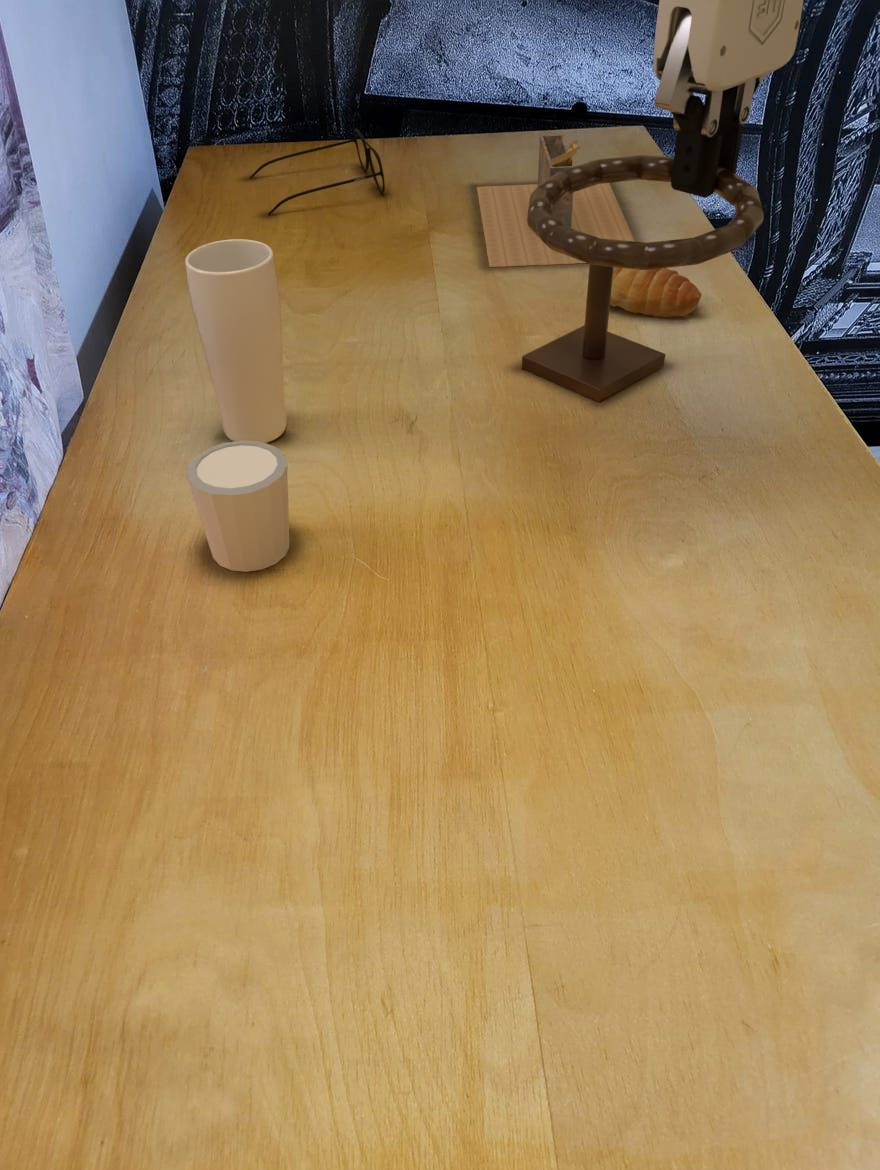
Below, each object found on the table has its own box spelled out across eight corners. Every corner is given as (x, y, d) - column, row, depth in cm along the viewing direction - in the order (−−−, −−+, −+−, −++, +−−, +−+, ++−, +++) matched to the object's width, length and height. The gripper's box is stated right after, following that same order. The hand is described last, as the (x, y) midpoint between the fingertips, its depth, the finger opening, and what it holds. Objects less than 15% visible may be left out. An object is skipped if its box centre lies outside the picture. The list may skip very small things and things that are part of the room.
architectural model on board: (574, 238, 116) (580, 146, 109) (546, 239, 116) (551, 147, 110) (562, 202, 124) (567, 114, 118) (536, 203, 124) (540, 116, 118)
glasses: (388, 199, 128) (381, 157, 124) (271, 229, 127) (261, 188, 123) (360, 163, 138) (354, 124, 135) (252, 191, 137) (243, 152, 134)
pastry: (710, 302, 103) (716, 264, 100) (680, 328, 99) (686, 290, 96) (623, 282, 107) (627, 245, 104) (592, 307, 103) (595, 269, 100)
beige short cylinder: (184, 549, 76) (165, 467, 71) (258, 509, 79) (245, 428, 74) (242, 590, 72) (227, 506, 67) (317, 546, 75) (307, 463, 71)
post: (586, 335, 98) (596, 214, 91) (664, 366, 93) (681, 241, 86) (521, 368, 94) (526, 244, 87) (599, 402, 89) (611, 274, 81)
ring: (619, 158, 78) (621, 135, 76) (807, 212, 69) (812, 188, 68) (479, 228, 71) (479, 205, 70) (668, 298, 62) (671, 272, 61)
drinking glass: (203, 449, 86) (169, 271, 76) (232, 408, 91) (203, 236, 81) (281, 456, 84) (256, 276, 74) (306, 414, 89) (286, 240, 79)
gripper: (727, -118, 55) (679, 233, 67) (877, -151, 62) (809, 170, 75) (613, -125, 59) (588, 206, 71) (766, -155, 67) (720, 149, 79)
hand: (701, 185), depth 73 cm, fingers closed on ring, 1 cm apart
